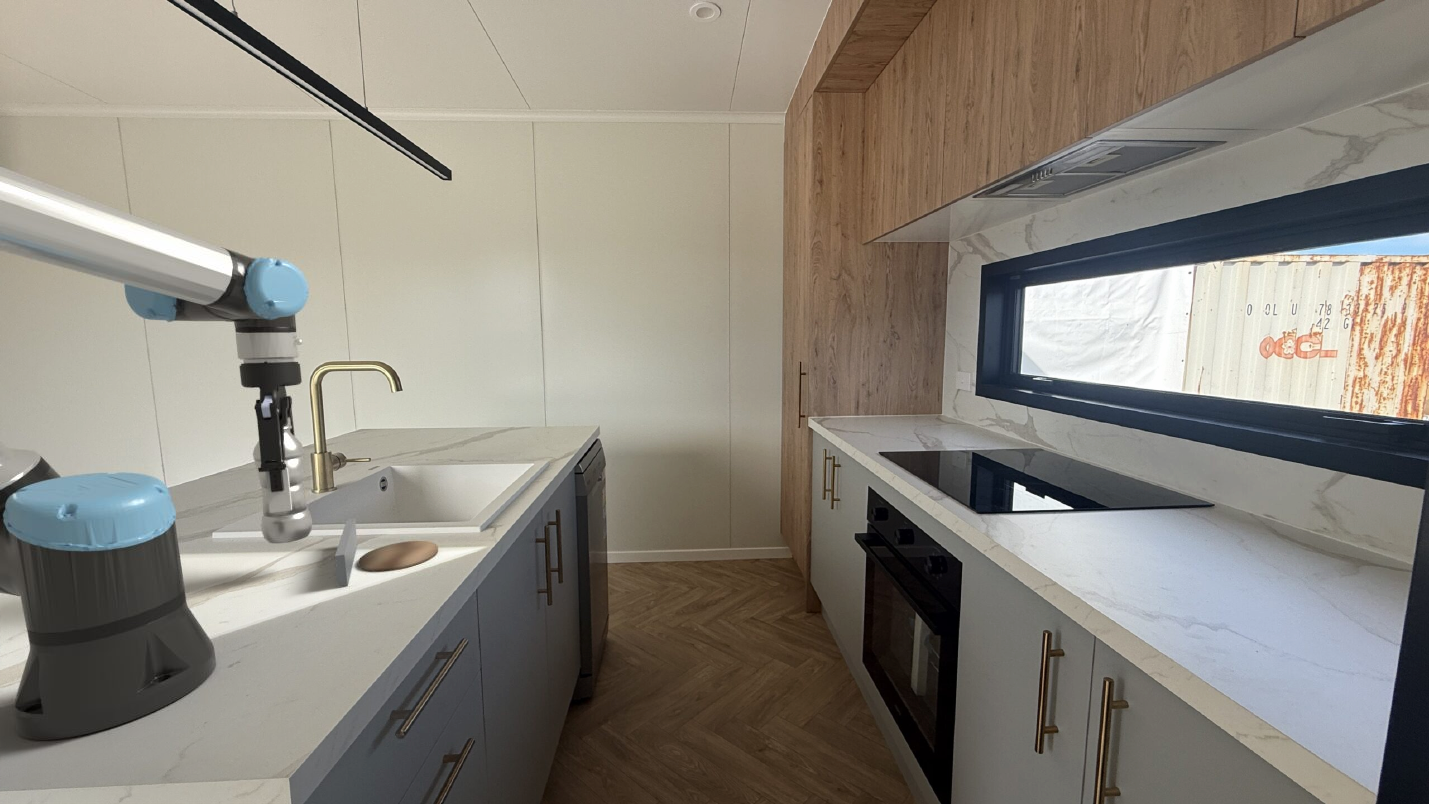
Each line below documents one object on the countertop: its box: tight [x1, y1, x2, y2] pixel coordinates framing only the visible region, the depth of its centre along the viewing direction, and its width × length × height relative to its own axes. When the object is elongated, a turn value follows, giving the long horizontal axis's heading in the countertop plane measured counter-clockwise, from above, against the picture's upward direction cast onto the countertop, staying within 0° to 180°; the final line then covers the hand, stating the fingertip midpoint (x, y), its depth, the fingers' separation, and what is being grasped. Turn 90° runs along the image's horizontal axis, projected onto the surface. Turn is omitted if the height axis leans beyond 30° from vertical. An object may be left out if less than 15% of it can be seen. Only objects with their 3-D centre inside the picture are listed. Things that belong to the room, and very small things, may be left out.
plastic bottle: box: [252, 417, 313, 544], centre depth 92 cm, size 6×7×20 cm
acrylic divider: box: [334, 517, 358, 588], centre depth 96 cm, size 1×20×5 cm, turn 28°
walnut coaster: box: [358, 540, 439, 572], centre depth 99 cm, size 12×12×1 cm
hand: (285, 505), depth 92 cm, fingers closed on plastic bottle, 6 cm apart
